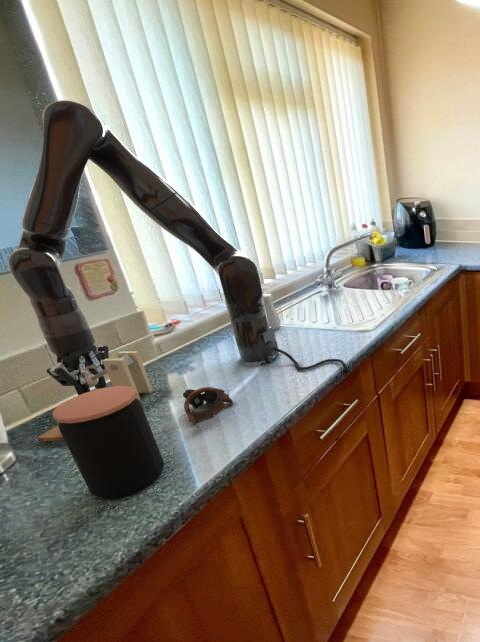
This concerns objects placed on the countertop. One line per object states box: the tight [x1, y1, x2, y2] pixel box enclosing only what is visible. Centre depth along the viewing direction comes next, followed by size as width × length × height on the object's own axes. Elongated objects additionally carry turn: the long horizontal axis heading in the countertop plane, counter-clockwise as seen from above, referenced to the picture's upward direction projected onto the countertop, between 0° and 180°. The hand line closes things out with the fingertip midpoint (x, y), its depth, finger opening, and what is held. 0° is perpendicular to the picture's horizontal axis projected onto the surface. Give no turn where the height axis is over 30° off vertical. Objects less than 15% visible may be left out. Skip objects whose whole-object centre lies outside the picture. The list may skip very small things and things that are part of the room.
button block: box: [36, 422, 65, 442], centre depth 90 cm, size 11×9×4 cm
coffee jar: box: [51, 386, 165, 500], centre depth 74 cm, size 11×11×18 cm
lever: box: [85, 354, 134, 388], centre depth 100 cm, size 14×3×3 cm, turn 92°
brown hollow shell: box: [182, 386, 234, 426], centre depth 97 cm, size 12×10×8 cm
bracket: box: [101, 350, 154, 401], centre depth 101 cm, size 10×8×13 cm
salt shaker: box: [263, 293, 282, 331], centre depth 145 cm, size 6×6×13 cm
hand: (94, 391), depth 102 cm, fingers closed on lever, 3 cm apart
